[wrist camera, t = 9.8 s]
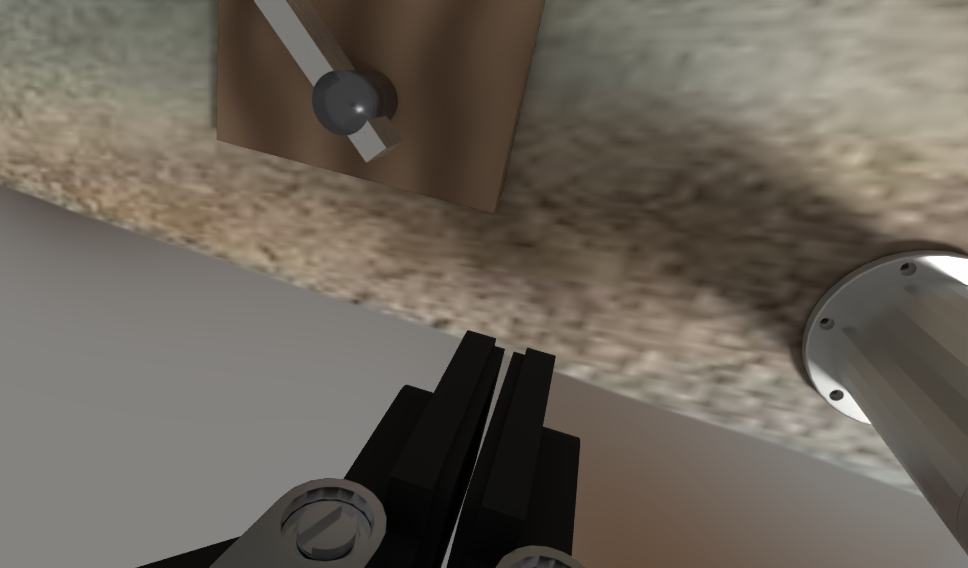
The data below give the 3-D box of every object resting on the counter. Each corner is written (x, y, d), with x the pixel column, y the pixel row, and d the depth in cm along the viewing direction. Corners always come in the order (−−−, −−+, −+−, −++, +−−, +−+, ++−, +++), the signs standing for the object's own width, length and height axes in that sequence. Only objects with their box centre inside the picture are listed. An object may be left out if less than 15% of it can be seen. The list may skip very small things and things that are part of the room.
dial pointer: (423, 129, 36) (398, 138, 32) (382, 159, 37) (354, 171, 33) (254, -126, 33) (202, -154, 29) (216, -83, 34) (161, -104, 30)
